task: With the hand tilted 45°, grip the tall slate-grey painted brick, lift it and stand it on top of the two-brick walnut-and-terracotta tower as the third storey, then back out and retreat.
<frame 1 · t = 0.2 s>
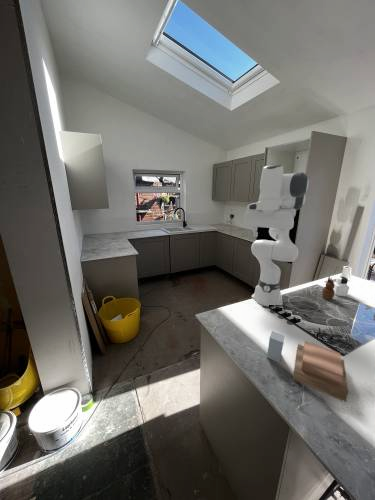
hand: (266, 237, 90), 48 cm above the counter, tool pointing down, fingers open, 8 cm apart
medicine bottle: (338, 293, 140), on the counter
plinth: (317, 373, 79), on the counter
wooden figurine: (326, 298, 134), on the counter
slate brick: (274, 355, 87), on the counter
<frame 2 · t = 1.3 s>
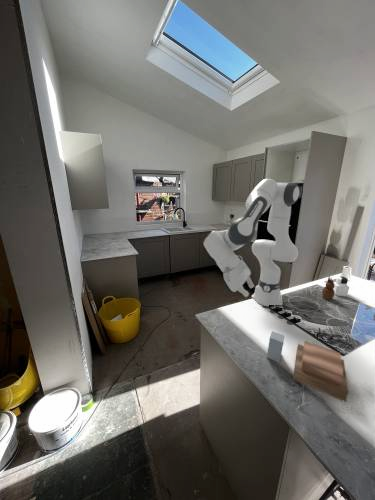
hand: (250, 291, 86), 27 cm above the counter, tool tilted 45°, fingers open, 8 cm apart
nothing on the counter moved.
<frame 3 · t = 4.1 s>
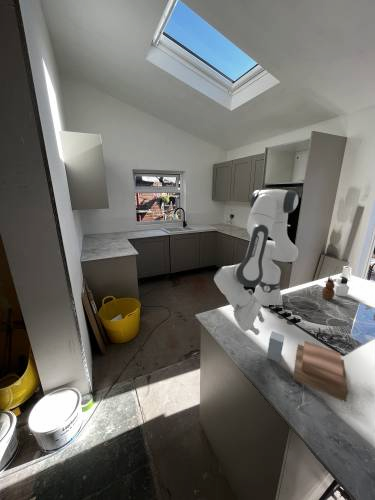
hand: (260, 327, 87), 12 cm above the counter, tool tilted 45°, fingers open, 8 cm apart
nothing on the counter moved.
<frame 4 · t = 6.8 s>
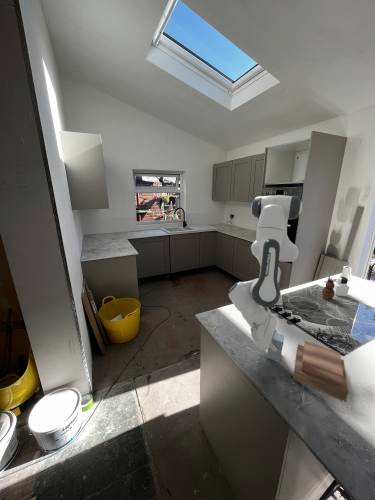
hand: (277, 345, 85), 6 cm above the counter, tool tilted 45°, fingers closed on slate brick, 5 cm apart
slate brick: (274, 355, 87), on the counter, touching gripper
everything else where it was.
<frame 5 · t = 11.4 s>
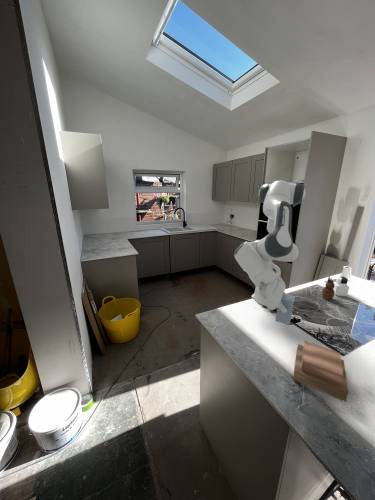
hand: (287, 307, 79), 24 cm above the counter, tool tilted 45°, fingers closed on slate brick, 5 cm apart
slate brick: (283, 319, 81), point 18 cm above the counter, touching gripper
everything else where it was.
when the fingers open (15 cm above the counter, at t = 16.1 s): slate brick drops 1 cm, resting on plinth.
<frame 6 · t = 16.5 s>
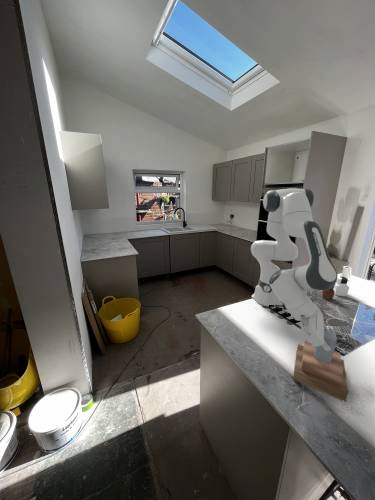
hand: (328, 341, 74), 15 cm above the counter, tool tilted 45°, fingers open, 8 cm apart
slate brick: (322, 356, 77), point 8 cm above the counter, touching plinth
everything else where it was.
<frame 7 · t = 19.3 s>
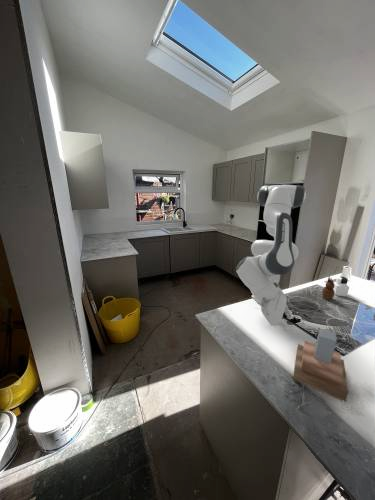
hand: (288, 321, 81), 18 cm above the counter, tool tilted 45°, fingers open, 8 cm apart
nothing on the counter moved.
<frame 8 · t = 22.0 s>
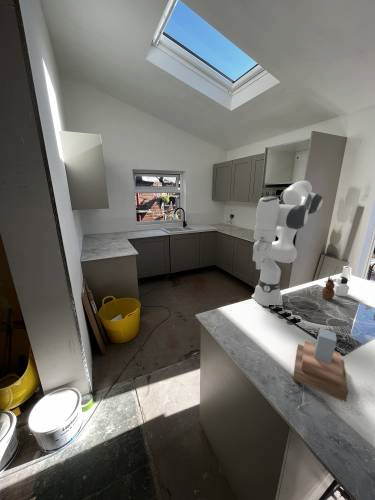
hand: (260, 265, 92), 35 cm above the counter, tool pointing down, fingers open, 8 cm apart
nothing on the counter moved.
at the end: slate brick inside the target area on the plinth (0.0 cm from its centre), point 8.0 cm above the plinth's base; slate brick tilted 0°; the gripper is holding nothing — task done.
